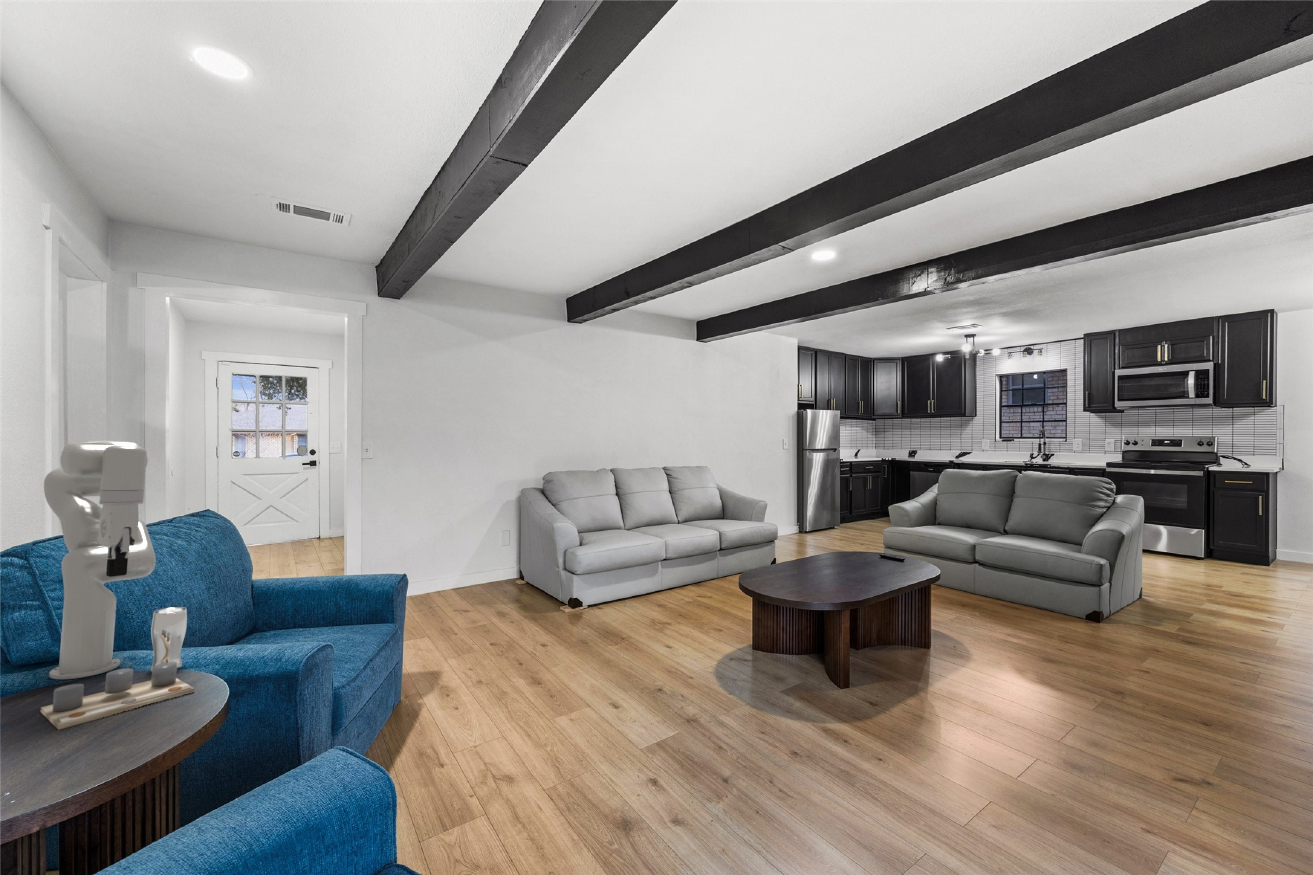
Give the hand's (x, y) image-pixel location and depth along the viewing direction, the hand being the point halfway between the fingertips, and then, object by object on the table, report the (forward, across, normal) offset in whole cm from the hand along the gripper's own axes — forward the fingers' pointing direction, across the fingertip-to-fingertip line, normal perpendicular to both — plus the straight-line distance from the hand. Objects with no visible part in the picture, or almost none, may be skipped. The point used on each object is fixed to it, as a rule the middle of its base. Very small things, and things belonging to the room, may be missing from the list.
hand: (116, 575), depth 129 cm
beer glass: (+27, -8, +13) cm, 31 cm away
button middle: (+25, +7, 0) cm, 26 cm away
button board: (+27, +9, 0) cm, 29 cm away
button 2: (+26, +7, +8) cm, 28 cm away
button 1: (+26, +7, -8) cm, 28 cm away
